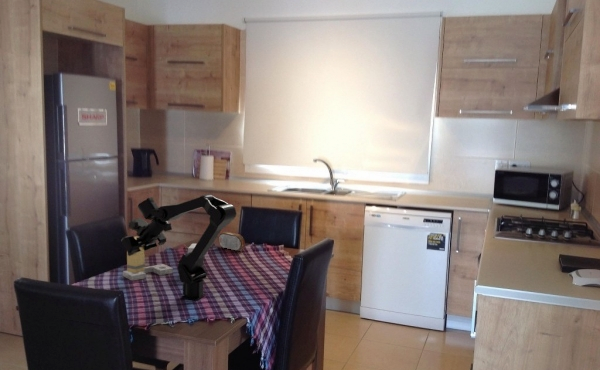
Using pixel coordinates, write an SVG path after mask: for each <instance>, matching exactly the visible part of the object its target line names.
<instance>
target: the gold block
mask: <svg viewBox="0 0 600 370" xmlns="http://www.w3.org/2000/svg"><path fill="white" fill-rule="evenodd" d="M133 237H134V238H135V240H137V239H136V238H138V237H139V236H137V235H136V236H135V235H133ZM140 250H141V251H140V252H137V253H135V254H133V255H131V256H129V255H128V252H127V251H126V263H127V264H126V271H128V272H133V273H138V272H141V271H144V270H145V267H146V265H145V251H144V245H142V247H141V248H140Z"/></svg>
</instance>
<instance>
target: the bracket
mask: <svg viewBox="0 0 600 370" xmlns="http://www.w3.org/2000/svg"><path fill="white" fill-rule="evenodd" d="M149 273H154V274H156V275H158V276H163V275H169V274H173V273H174V268H173V267H171V266H169V265H166V264H164V263H161V264H156V265H150V266H145V270H144V271H141V272H138V273H133V272H128V271H127V270H123V271H122V277H124V278H126V279H128V280H130V281H131V282H132V281H133V282H134V281H140V280H144V279H147V277H146V276H147V274H149Z"/></svg>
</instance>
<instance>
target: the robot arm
mask: <svg viewBox="0 0 600 370" xmlns="http://www.w3.org/2000/svg"><path fill="white" fill-rule="evenodd" d="M137 208H138V210H139V211H140V214H142V216H143V217H144V219H143V218H142V217H138V218H133V219H132V220H130V221H129V222H128V228H130V229H131V230H132V231H135V232H136V233H135V234H136V236H138V238H136V239H137V240H135V238H134V235H127V236H123V237H122V239H121V240H120V243H121V244H122V246H123V247H124V249H125V250H126V253H127V252H128V255H129V256H131V255H133V254H135V253H137V252H140V251H141V250H140V248H141V247H142V245H144V252H146V251H148V250H151V249H155V248H156V247H158V246H161V245H164V244H166V242H167V237H166V236H165V234H164V233H163V232H170V231H172V230H173V228H172V224H171V222H170V221H174V220H177V219H179V218H182V216H184V214H187V213H190V212H193V211H197V210H199V209H201V208H202V209H203V210H204V211H205V213H206V214H207V215H208V216H209V217H208V218H209V223H208V224H207V226H206V229H205V230H204V232H203V234H202V235H201V236H200V238H199V240H198V242H197V243H195V244H196V246H195V247H194V249H193V251H192V252H189V253H188V252H187V253H184V254H182V255H181V257H180V260H179V261H177V263H178V265H177V267H176V268H177V272H178V275H179V278H180V282H181V283H182V295H180V296H181V298H182V299H186V300H187V299H188V300H192V301H193V300H194V301H198V300H200V299H202V298H203V297H204V296H206V293H204V280H205V279H207V276H208V272H207V270H206V269H205V268H204V266H203V265H204V258H205V256H206V254H207V253H208V251H209V250H210V248H211V247H212V245H213V244H214V242H215V241H216V239H217V237H219V235H220V234H221V231H222V230H223V229H224V228H225V227H227V226H228V225H229V224H230V223H232V221H233V220H234V219H235V218H236V217H237V212H236V208H235V206H234V205H232V204H231V203H228V202H226V201H224V200H222V199H220V198H217V197H215V196H214V195H212V194H204V195H200V196H199V197H196V198H192V199H190V200H187V201H184V202H181V203H173V204H166V205H161V206H158V204H157V203H156V202H155V199H154V198H153V197H152V196H149V197H147V198H146V199H145V200H143V201H141V202H139V203H138V204H137ZM146 220H149V221H150V222H149V223H148V221H146ZM157 241H158V243H157ZM194 274H195V275H194ZM191 275H194V276H191Z"/></svg>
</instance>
